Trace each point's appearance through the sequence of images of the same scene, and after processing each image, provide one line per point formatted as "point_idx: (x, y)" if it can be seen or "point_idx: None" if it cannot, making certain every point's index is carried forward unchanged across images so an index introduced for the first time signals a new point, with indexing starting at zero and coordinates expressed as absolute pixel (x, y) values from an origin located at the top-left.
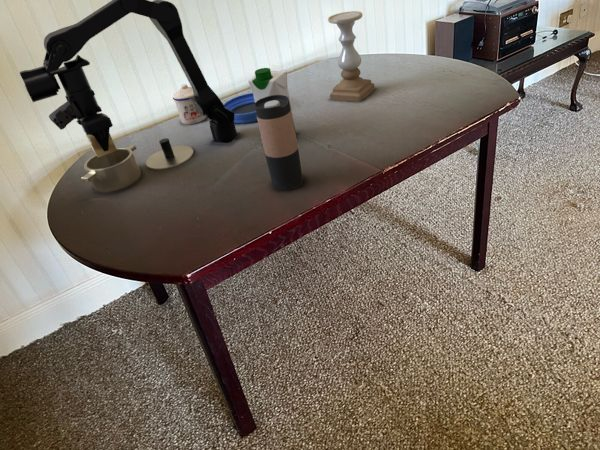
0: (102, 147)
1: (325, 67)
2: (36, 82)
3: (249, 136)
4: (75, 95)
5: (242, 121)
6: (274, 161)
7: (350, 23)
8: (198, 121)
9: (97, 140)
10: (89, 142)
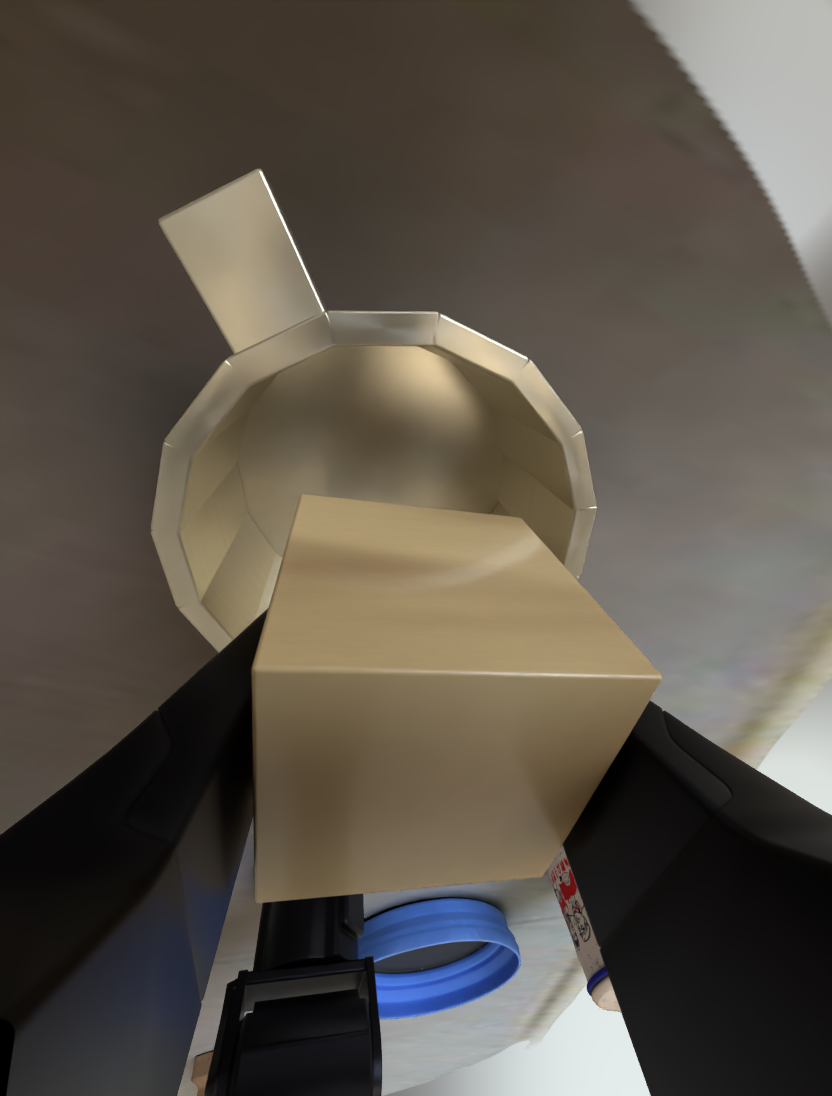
0: (238, 640)
1: (474, 1042)
2: None
3: (259, 905)
4: None
5: (376, 923)
6: None
7: None
8: None
9: (128, 739)
10: (537, 586)
